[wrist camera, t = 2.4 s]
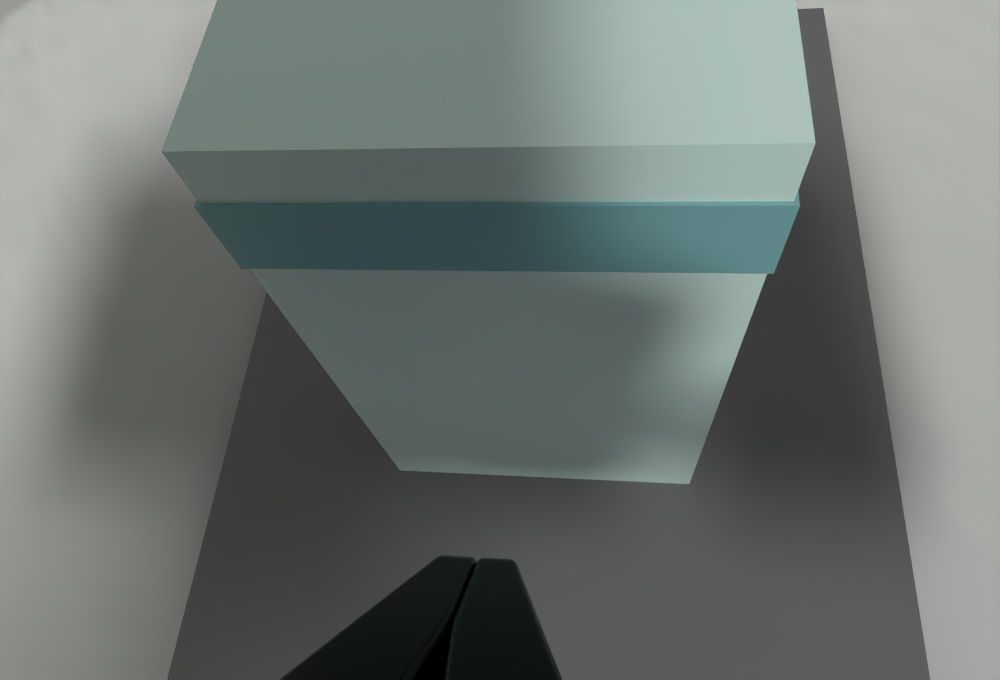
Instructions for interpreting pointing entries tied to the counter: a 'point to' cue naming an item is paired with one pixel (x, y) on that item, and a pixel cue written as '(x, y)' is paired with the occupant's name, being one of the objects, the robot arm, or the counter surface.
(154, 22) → the counter surface
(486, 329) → the carton
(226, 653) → the mat
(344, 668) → the robot arm
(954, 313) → the counter surface
